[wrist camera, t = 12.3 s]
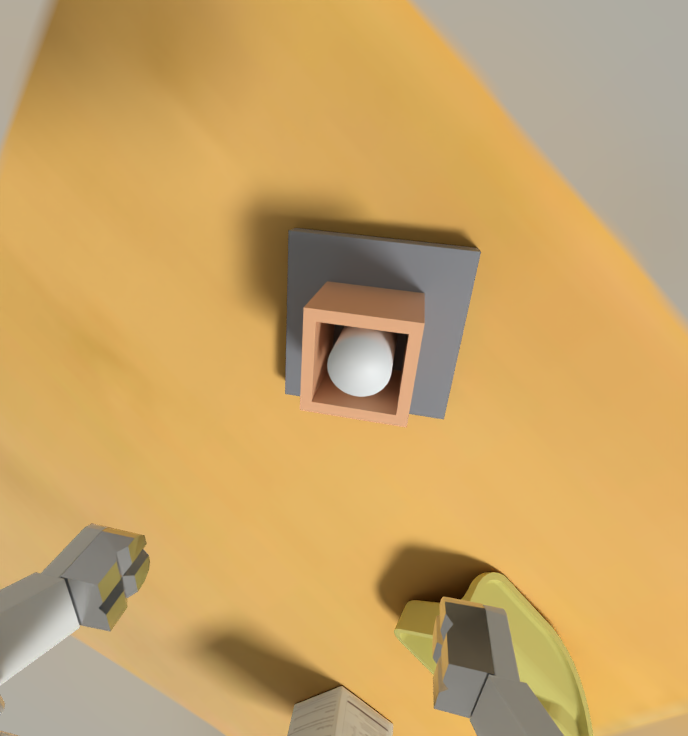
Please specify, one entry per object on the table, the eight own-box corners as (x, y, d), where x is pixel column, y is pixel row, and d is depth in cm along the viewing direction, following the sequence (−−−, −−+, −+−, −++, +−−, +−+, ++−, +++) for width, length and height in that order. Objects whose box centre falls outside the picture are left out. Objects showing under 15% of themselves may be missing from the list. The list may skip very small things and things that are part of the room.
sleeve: (321, 368, 30) (299, 410, 25) (327, 281, 27) (303, 307, 22) (409, 381, 29) (406, 427, 24) (424, 293, 26) (424, 323, 21)
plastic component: (384, 625, 40) (462, 641, 32) (415, 559, 45) (489, 559, 37) (509, 750, 43) (609, 791, 35) (526, 675, 47) (617, 697, 40)
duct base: (290, 384, 33) (257, 438, 26) (295, 227, 28) (254, 245, 21) (442, 408, 31) (447, 472, 25) (477, 247, 26) (496, 273, 19)
